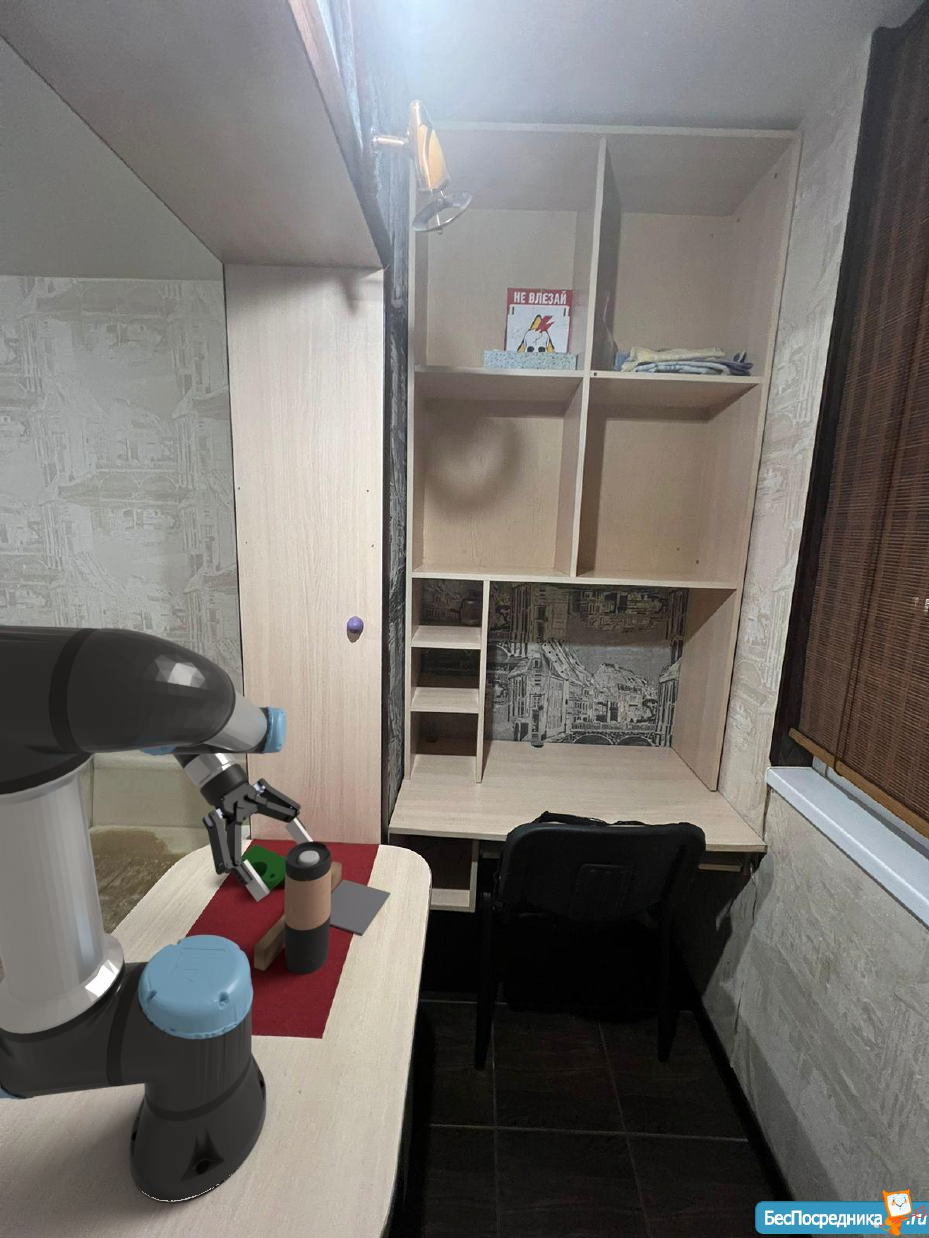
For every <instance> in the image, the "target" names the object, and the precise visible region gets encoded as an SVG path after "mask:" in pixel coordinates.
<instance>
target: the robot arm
mask: <svg viewBox="0 0 929 1238" xmlns="http://www.w3.org/2000/svg"><path fill="white" fill-rule="evenodd" d="M286 737H287V714H286V711H285V710H284V709H283V708H281V707H270V706H264V707H259V706H257V705H256V704H254V703H253V702H252V701H250V700H249V699H248V698H246V697H245V696H244V695H242V694H241V693H239V692H238V691H237V690H236V688H235V684H234V682H233V680H232V679H231V677H230V675H229V674H228V673H227V672H226V670H224V669H223V668H222V666H221V667H220V666H219V665H218V664H217V663H215V662H213V661H212V660H211V659H209V658H207V657H206V656H204V655H202V653H199V652H197V651H195V650H194V649H190V648H188V647H186V646H184V645H180V644H179V643H177V642H173V641H171V640H168V639H165V638H163V637H159V636H158V635H157V636H155V635H153V634H149V633H146V632H142V631H138V630H133V629H127V628H117V627H101V628H97V627H95V628H93V627H74V626H73V627H71V626H70V627H67V626H41V625H40V626H37V625H35V626H34V625H11V624H9V625H6V624H3V623H0V959H1V964H2V969H3V973H4V977H3V979H2V980H1V982H0V1099H2V1100H3V1099H11V1100H18V1101H19V1100H27V1099H28V1100H29V1099H33V1098H35V1097H43V1096H49V1095H50V1096H51V1095H52V1096H53V1095H58V1094H59V1095H60V1094H68V1093H75V1092H81V1091H82V1092H83V1091H91V1090H99V1089H100V1090H101V1089H107V1088H108V1089H109V1088H117V1087H125V1086H132V1085H133V1086H134V1085H143V1084H144V1094H143V1097H142V1100H141V1102H140V1105H139V1107H138V1109H137V1114H136V1116H135V1119H134V1122H133V1125H132V1128H131V1132H130V1138H129V1148H128V1149H129V1150H128V1152H129V1168H130V1173H131V1177H132V1179H134V1180H133V1182H134V1181H135V1182H134V1184H135V1183H136V1184H135V1186H136V1185H137V1186H138V1187H139V1188H140V1189H141V1191H143V1192H144V1193H146V1194H147V1195H149V1196H150V1197H154V1198H156V1199H159V1200H168V1201H171V1200H173V1201H174V1200H181V1199H185V1198H188V1197H192V1196H195V1195H199V1194H201V1193H203V1192H205V1191H207V1190H209V1189H210V1188H211V1189H212V1188H213V1187H215V1186H216V1185H217V1184H220V1183H221V1182H222V1181H223V1180H225V1179H226V1178H227V1179H229V1178H230V1177H229V1175H231V1174H232V1175H234V1173H235V1172H236V1171H237V1170H238V1169H239V1168H240V1167H241V1166H242V1165H243V1163H244V1162H245V1161H246V1160H247V1158H248V1157H249V1155H250V1154H251V1153H252V1151H253V1149H254V1147H255V1146H256V1144H257V1142H258V1141H259V1138H260V1136H261V1133H262V1131H263V1127H264V1124H265V1120H266V1113H267V1085H266V1082H265V1078H264V1075H263V1072H262V1071H261V1069H260V1067H259V1064H258V1062H257V1060H256V1059H255V1057H254V1055H253V1052H252V1040H253V1039H252V1035H253V1034H252V1033H253V1032H252V1026H253V1025H252V1018H253V1017H252V1005H253V996H254V990H253V984H252V978H251V976H252V975H251V967H250V962H249V959H248V957H247V954H246V952H244V951H243V950H241V948H240V946H239V945H238V944H237V943H236V942H234V941H232V940H230V939H228V938H226V937H224V936H220V935H214V934H212V935H211V934H197V935H190V936H187V937H183V938H181V939H178V941H177V944H172V943H169V944H168V945H166V946H164V947H163V948H161V949H160V950H159V951H157V952H156V953H155V954H154V955H153V956H152V957H151V958H150V960H148V961H135V962H133V961H132V962H125V955H124V949H123V946H122V943H121V942H120V941H119V940H118V938H116V937H115V936H114V935H112V934H110V933H107V932H105V929H104V923H103V916H102V909H101V903H100V896H99V890H98V889H99V888H98V881H97V877H96V869H95V863H94V855H93V850H92V849H93V848H92V843H91V841H92V840H91V834H90V829H89V822H88V815H87V808H86V802H85V795H84V788H83V781H82V774H81V770H82V768H84V767H85V766H86V765H87V764H88V763H89V762H90V761H91V759H92V758H93V757H94V754H105V753H106V754H107V753H108V754H110V753H120V752H130V751H131V752H132V751H140V752H141V753H144V754H147V755H150V756H153V757H155V756H165V755H172V756H173V757H174V758H175V760H176V761H177V762H178V763H179V765H180V766H181V767H182V770H184V772H185V773H186V774H187V776H188V777H189V779H190V780H191V782H192V783H193V785H194V786H195V787H200V789H199V790H200V791H199V793H200V794H201V795H202V797H203V798H204V800H205V801H206V802H207V804H208V805H209V806H212V807H214V809H212V810H211V811H209V812H208V813H207V814H206V815H205V816H204V817H203V818H202V823H203V825H204V827H205V828H206V830H207V834H208V838H209V844H210V849H211V854H212V859H213V865H214V868H215V873H216V875H219V876H221V875H223V874H224V873H225V874H227V875H228V874H229V873H231V875H233V876H234V878H235V879H236V881H237V882H238V883H239V886H242V887H243V888H244V887H246V889H247V890H248V891H249V893H250V894H251V896H252V897H253V898H254V900H255V901H256V902H259V901H260V900H262V899H264V898H265V897H266V896H268V895H269V894H270V892H271V891H269V889H268V888H267V887H266V885H265V884H264V882H263V881H262V880H261V878H260V877H259V876H258V874H257V873H256V871H255V870H254V869H253V867H252V866H251V865H250V863H249V862H248V860H245V861H244V862H243V863H241V862H242V856H243V854H242V851H243V850H242V836H243V835H242V834H243V833H242V825H243V823H244V821H246V819H248V818H250V817H251V816H253V815H257V814H259V815H263V816H265V817H268V818H271V819H274V820H276V821H280V822H283V823H286V825H285V826H284V828H285V829H286V831H287V832H288V833H289V835H290V836H291V838H292V840H294V842H295V843H296V845H298V844H300V843H304V842H310V841H314V840H313V838H312V837H311V836H310V835H309V834H308V832H307V829H306V828H307V827H306V826H305V825H304V824H303V822H302V821H301V819H300V818H299V815H300V814H301V808H302V805H301V804H300V803H298V802H297V801H295V800H293V799H292V798H290V797H289V796H287V795H286V794H284V793H282V792H281V791H279V790H278V789H276V788H275V787H273V786H271V785H270V783H268V781H266V779H265V778H263V777H261V778H259V779H258V780H257V781H256V782H255V783H254V784H252V785H251V784H250V783H249V775H248V774H247V772H245V770H244V769H243V767H242V766H241V764H239V763H238V762H237V763H235V761H236V757H235V756H234V755H233V754H237V755H238V754H244V755H245V754H247V755H248V754H251V755H252V754H255V755H258V754H259V755H265V754H275V753H276V754H277V753H280V751H282V750H283V748H284V746H285V742H286ZM222 819H224V821H225V822H224V824H223V820H222ZM243 1161H244V1162H243ZM238 1167H239V1168H238ZM234 1171H235V1172H234ZM233 1172H234V1173H233ZM232 1175H231V1176H232ZM228 1177H229V1178H228ZM227 1179H226V1180H227ZM226 1180H225V1181H226ZM222 1183H223V1182H222ZM222 1183H221V1184H222ZM221 1184H220V1185H221ZM137 1186H136V1187H137ZM138 1187H137V1188H138ZM139 1188H138V1189H139ZM215 1188H216V1187H215ZM212 1190H213V1189H212ZM141 1191H140V1192H141ZM144 1193H143V1194H144Z"/></svg>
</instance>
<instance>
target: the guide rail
mask: <svg viewBox="0 0 929 1238" xmlns="http://www.w3.org/2000/svg"><path fill="white" fill-rule="evenodd" d="M342 865H343V864H342V863H341V862H338V861H335V860H334V861H331V893H332V892H333V891H334V890H335V889H336V888H337V886H338V885H339V884H340V883H341V882H342V871H343V870H342V869H343V868H342ZM253 948H254V949H253V958H254V959H253V960H254V961H253V962H254V964H253V966H254V967H253V968H254V969H258V970H260V971H263V972H265V971H266V970H267V968H268V967H269V966H270V965H271V964H272V963H273V961H274V960H275V959H276V958H277V957H278V955H279V954H280V953H281V952H282V951H283V949H285V924H284V914H282V916H281V917H280V918H279V920H277V922H275V924H274V925H273V926H272V927H271V928H270V929H269V930H268V931H267V932H266V934H265V935H264V936H263V937H261V939H260V940H259V941H258V942H257V943H256V944H255V945H254V947H253Z"/></svg>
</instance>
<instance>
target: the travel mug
mask: <svg viewBox="0 0 929 1238" xmlns="http://www.w3.org/2000/svg"><path fill="white" fill-rule="evenodd" d="M286 852H287V853H286V854H285V858H286V859H285V885H284V912H283V913H284V914H283V915H284V924H285V947H284V952H285V953H284V954H285V956H284V957H285V964H286V967H287V968H288V970H289V971H291V973H294V974H297V975H307V974H312V973H314V972H316V971H318V970H319V969H320V968H322V967H323V966H324V964H325V963H326V962H327V959H328V956H329V945H330V944H329V943H330V941H329V940H330V930H331V929H330V928H331V925H330V913H331V893H332V892H331V863H332V851H330V849H329V848H328V846H327V844H326V843H324V842H320V841H314V840H313V841H310V842H304V843H300V844H296V845H294V846H292V847H291V848H289V850H288V851H286Z"/></svg>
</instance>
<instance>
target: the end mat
mask: <svg viewBox="0 0 929 1238" xmlns="http://www.w3.org/2000/svg"><path fill="white" fill-rule="evenodd" d="M389 895H391V892H389V891H385V890H382V889H379V888H375V887H372V886H368V885H365V884H362V883H359V882H353V881H350V880H347V879H341V881H340V883H339V884H338V885H337V886H336V887H335V888H334V890H333V891H332V892H331V913H330V927H331V926H332V927H335V928H337V927H338V929H341V930H343V931H347V932H350V933H353V934H356V935H358V936H359V935H360V936H363V935H364V934H365V932H366V931H367V929H368V928H369V926H370V925H371V923H372V922H373V921H374V919H375V918H376V916H377V915H378V913H379V911H380V910H381V908H383V906H384V904H385V903H386V901H387V900H388V898H389V897H390V896H389Z"/></svg>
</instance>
